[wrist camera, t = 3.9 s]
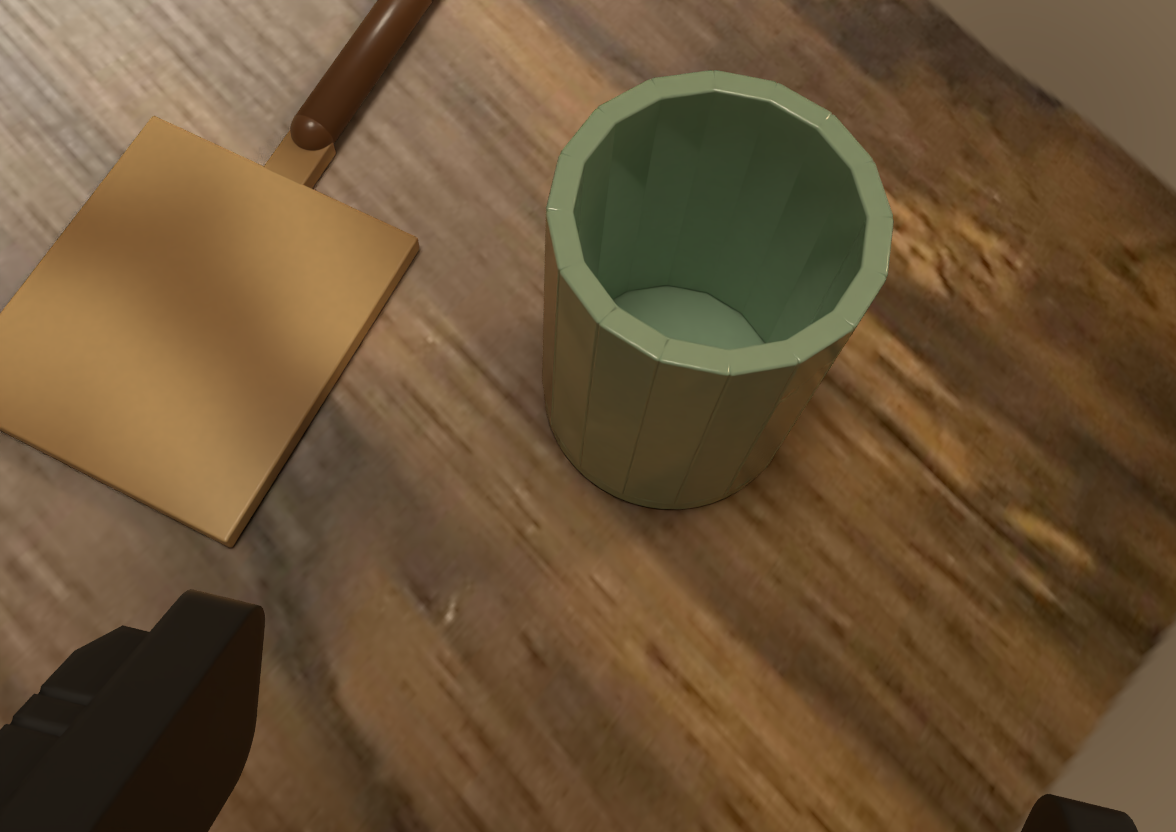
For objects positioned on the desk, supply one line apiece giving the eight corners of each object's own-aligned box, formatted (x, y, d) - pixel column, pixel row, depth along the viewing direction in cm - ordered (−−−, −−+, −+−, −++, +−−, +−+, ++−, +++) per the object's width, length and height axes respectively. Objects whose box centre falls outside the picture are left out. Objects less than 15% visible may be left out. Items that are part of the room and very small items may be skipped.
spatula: (232, 549, 26) (218, 536, 25) (-53, 404, 27) (-78, 385, 26) (633, -91, 33) (637, -124, 32) (400, -188, 34) (396, -222, 33)
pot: (839, 425, 28) (962, 260, 20) (636, 558, 26) (682, 438, 18) (694, 241, 29) (754, 20, 21) (496, 357, 28) (482, 166, 20)
